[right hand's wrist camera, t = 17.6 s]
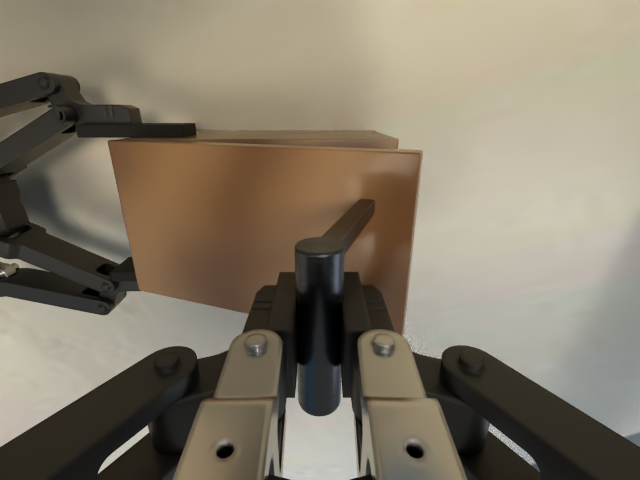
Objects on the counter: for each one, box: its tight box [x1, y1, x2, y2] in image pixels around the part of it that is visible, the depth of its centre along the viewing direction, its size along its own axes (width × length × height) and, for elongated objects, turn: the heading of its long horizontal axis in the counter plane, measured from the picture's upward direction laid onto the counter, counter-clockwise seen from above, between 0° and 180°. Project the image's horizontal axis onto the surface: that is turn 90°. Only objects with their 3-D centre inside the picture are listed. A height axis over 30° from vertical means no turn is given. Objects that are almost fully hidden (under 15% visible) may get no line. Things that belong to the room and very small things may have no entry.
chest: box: [125, 130, 398, 149], centre depth 26 cm, size 16×9×9 cm, turn 90°
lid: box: [108, 139, 423, 416], centre depth 15 cm, size 17×9×8 cm, turn 90°
